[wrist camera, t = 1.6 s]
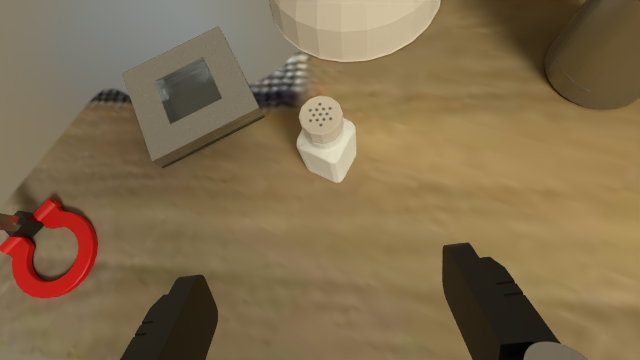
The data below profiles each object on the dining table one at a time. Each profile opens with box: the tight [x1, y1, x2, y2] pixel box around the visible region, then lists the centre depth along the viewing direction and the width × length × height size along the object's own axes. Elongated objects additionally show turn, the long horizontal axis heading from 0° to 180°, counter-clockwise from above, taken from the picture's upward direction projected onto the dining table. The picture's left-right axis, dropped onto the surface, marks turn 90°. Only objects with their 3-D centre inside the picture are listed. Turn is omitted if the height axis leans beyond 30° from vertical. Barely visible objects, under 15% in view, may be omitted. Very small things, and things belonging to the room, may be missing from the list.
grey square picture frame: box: [123, 27, 265, 168], centre depth 36 cm, size 12×12×2 cm
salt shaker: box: [297, 96, 356, 183], centre depth 28 cm, size 4×4×10 cm
